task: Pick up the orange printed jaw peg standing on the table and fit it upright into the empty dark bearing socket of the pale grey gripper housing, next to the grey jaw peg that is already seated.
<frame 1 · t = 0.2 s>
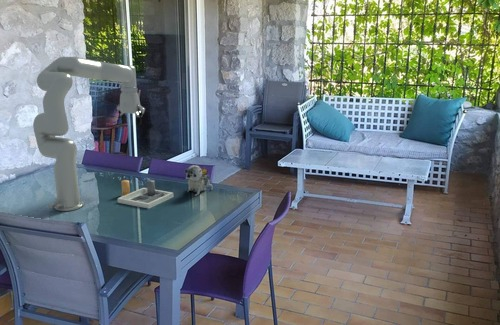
hand: (131, 123, 251), 31 cm above the table, tool pointing down, fingers open, 9 cm apart
housing: (146, 201, 227), on the table
jaw orange: (126, 197, 233), on the table
jaw grey: (151, 197, 230), point 1 cm above the table, touching housing
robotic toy: (198, 193, 238), on the table
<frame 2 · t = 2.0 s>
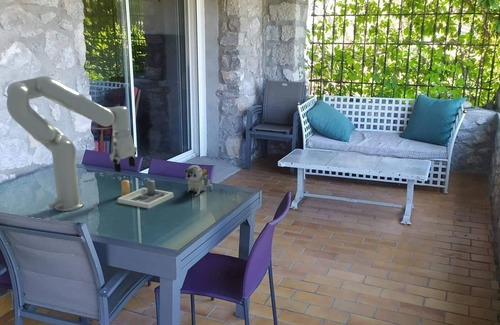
hand: (125, 168, 230), 14 cm above the table, tool pointing down, fingers open, 9 cm apart
nothing on the table moved.
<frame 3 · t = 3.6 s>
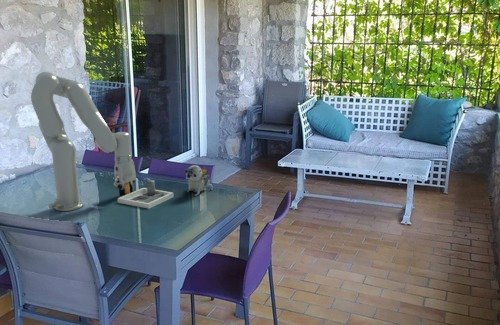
hand: (126, 195, 233), 1 cm above the table, tool pointing down, fingers closed on jaw orange, 4 cm apart
jaw orange: (126, 197, 233), on the table, touching gripper
everything else where it was.
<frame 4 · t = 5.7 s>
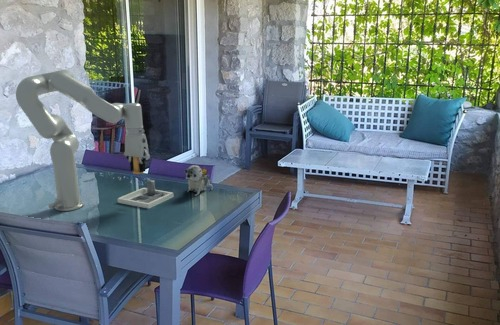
hand: (138, 170, 220), 16 cm above the table, tool pointing down, fingers closed on jaw orange, 4 cm apart
jaw orange: (138, 172, 220), point 15 cm above the table, touching gripper
everything else where it was.
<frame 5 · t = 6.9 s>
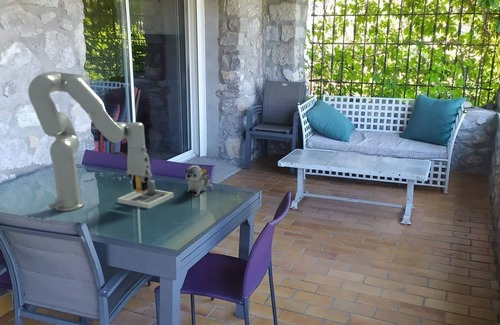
hand: (140, 189, 221), 7 cm above the table, tool pointing down, fingers closed on jaw orange, 4 cm apart
jaw orange: (140, 191, 222), point 6 cm above the table, touching gripper
everything else where it was.
when the fingers open (3 cm above the table, at t = 7.9 s): jaw orange drops 1 cm, resting on housing.
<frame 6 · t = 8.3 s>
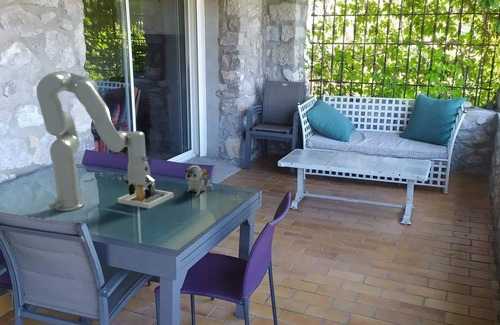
hand: (140, 195, 222), 4 cm above the table, tool pointing down, fingers open, 9 cm apart
jaw orange: (140, 202, 223), point 1 cm above the table, touching housing
everything else where it was.
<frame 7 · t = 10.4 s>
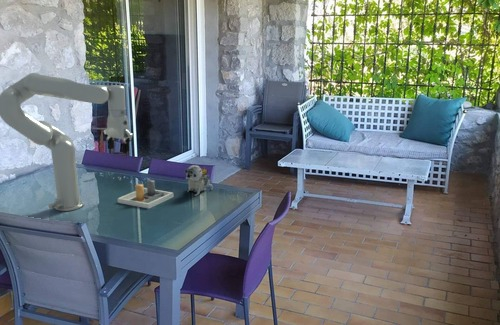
hand: (118, 150, 224), 24 cm above the table, tool pointing down, fingers open, 9 cm apart
nothing on the table moved.
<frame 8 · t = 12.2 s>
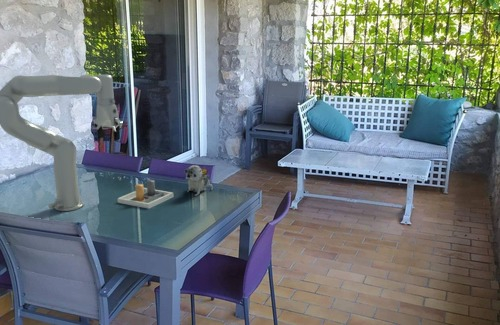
hand: (109, 138, 227), 28 cm above the table, tool pointing down, fingers open, 9 cm apart
nothing on the table moved.
at the end: jaw orange 0.1 cm from the target spot on the housing, point 1.0 cm above the housing's base; jaw orange tilted 0°; jaw grey moved 0.0 cm from its start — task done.
